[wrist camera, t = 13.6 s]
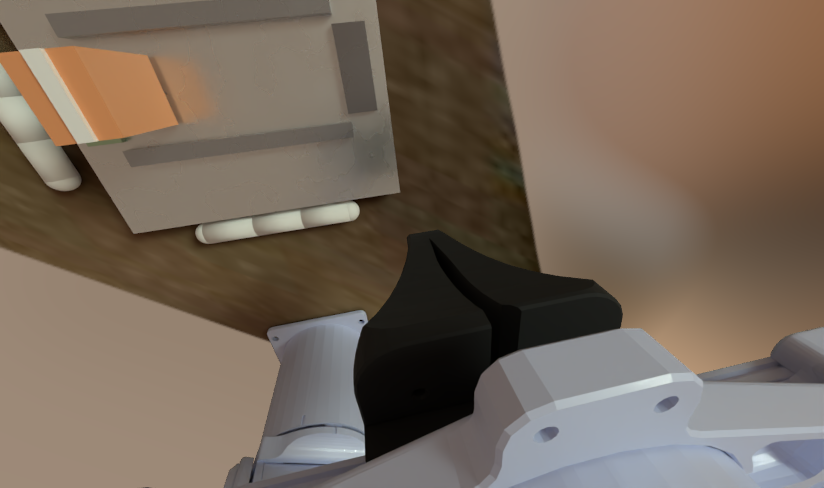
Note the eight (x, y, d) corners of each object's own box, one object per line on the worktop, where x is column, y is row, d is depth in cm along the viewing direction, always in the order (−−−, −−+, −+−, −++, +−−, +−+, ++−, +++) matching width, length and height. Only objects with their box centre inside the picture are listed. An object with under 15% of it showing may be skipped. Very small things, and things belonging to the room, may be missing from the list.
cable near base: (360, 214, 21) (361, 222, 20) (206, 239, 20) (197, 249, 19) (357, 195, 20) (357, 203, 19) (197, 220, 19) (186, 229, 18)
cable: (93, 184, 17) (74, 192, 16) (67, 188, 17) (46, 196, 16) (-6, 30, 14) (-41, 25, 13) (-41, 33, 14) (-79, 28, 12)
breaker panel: (397, 185, 21) (401, 195, 19) (148, 223, 19) (127, 238, 17) (359, -108, 14) (359, -137, 12) (-36, -88, 12) (-104, -118, 10)
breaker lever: (178, 124, 15) (120, 138, 11) (128, 130, 15) (51, 147, 11) (147, 55, 14) (68, 45, 10) (90, 61, 14) (-13, 52, 10)
